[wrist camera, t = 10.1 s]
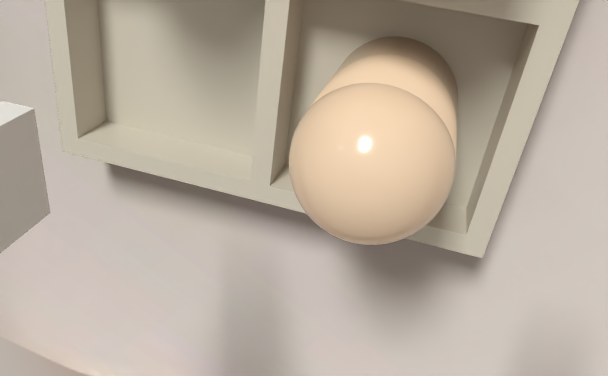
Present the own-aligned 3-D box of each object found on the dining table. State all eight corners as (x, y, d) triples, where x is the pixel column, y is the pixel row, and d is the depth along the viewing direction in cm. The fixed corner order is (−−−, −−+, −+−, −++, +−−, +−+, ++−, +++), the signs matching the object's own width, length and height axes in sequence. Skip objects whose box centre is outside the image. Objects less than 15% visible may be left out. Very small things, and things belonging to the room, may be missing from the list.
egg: (324, 141, 21) (259, 252, 14) (342, 25, 19) (275, 93, 12) (439, 168, 20) (427, 298, 14) (474, 50, 18) (479, 138, 11)
